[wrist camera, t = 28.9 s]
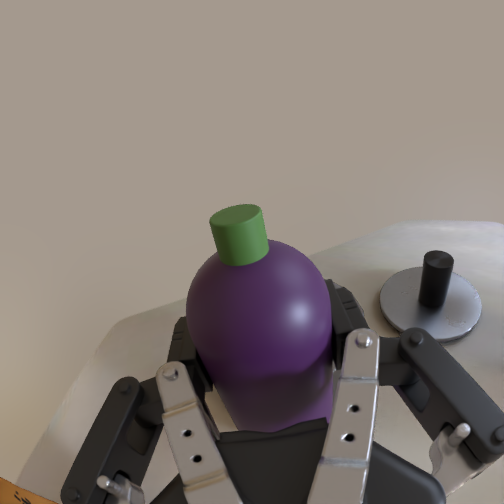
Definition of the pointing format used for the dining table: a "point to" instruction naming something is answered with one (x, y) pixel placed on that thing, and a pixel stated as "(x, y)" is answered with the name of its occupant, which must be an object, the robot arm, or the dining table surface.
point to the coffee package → (19, 495)
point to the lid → (431, 299)
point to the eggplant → (262, 325)
